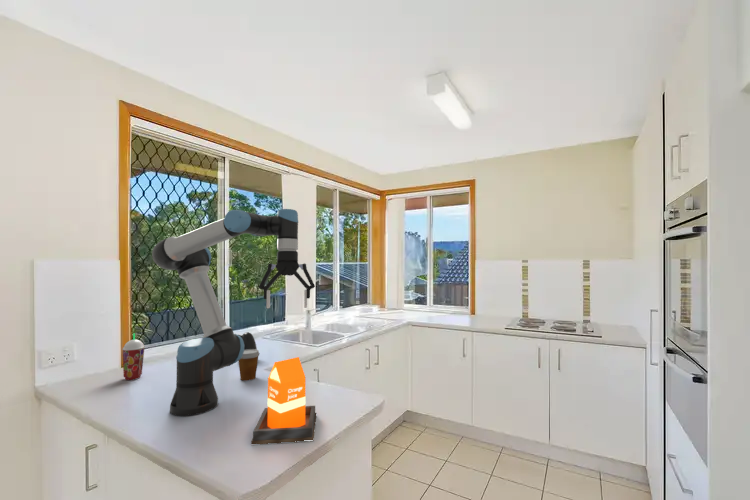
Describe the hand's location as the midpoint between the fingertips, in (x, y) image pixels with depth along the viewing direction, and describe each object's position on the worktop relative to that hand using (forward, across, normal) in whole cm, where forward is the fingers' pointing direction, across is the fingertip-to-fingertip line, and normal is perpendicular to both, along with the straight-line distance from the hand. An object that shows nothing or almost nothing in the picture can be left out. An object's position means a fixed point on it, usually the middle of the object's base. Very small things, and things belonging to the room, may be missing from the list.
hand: (287, 307), depth 129 cm
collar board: (+35, -3, +21) cm, 41 cm away
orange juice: (+34, -3, +21) cm, 40 cm away
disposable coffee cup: (+35, +21, -31) cm, 51 cm away
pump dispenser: (+35, +29, -61) cm, 76 cm away
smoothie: (+35, +73, -38) cm, 89 cm away
